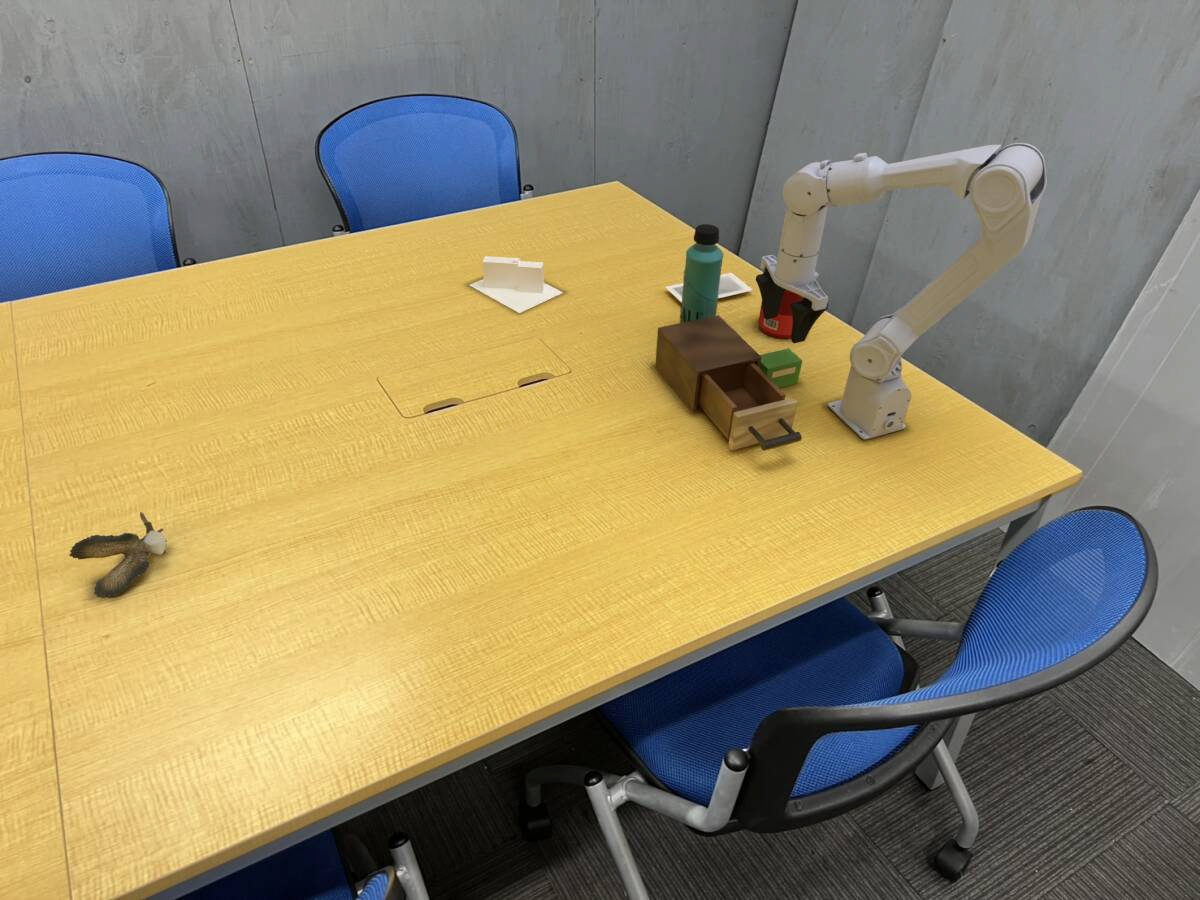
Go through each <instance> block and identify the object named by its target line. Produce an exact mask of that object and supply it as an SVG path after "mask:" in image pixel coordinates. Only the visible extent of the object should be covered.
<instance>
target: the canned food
mask: <svg viewBox="0 0 1200 900" xmlns="http://www.w3.org/2000/svg"><path fill="white" fill-rule="evenodd" d="M802 299H803V297H801V296H800V295H798V294H796V293H794V292H791V291H789V290H787V289H786V290H785V292H784V295H783V298H782V302H781V306H780V310H779V313H778V316H777V317H776V318H771V319H767V320H766V319H765V318H764V313H763V304H762V302H761V304H760V310H759V316H758V326H759V329H760V330H761V332H763V333H764V334H765V335H767V336H770V337H772V338H777V339H791V332H792V324H793V319H792V311H791V308H790V303H794V302H798V301H802Z"/></svg>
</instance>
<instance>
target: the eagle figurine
mask: <svg viewBox="0 0 1200 900" xmlns="http://www.w3.org/2000/svg"><path fill="white" fill-rule="evenodd" d="M139 516H140V520H141V522H142V523H143V526H145V535H144V536H143V537H142V538H140V536H139V535H137V534H136V533H131V532H123V533H121V534H119V535H113V534H110V535H104V534H103V535H99V534H94V535H90V536H87V537H86V538H83V539H81V540H79V541H78V542H75V543H74V545H73V546H71V549H70V550H69V552H70V553H69V555H68V556H69V557H72V559H78V560H87V559H104V558H109V557H113V556H117V555H121V559H122V560H121V561H119V563H118V564H117V565H115V566H114V567H113V568H112V569H111V570H110V571H108V572H107V574H106V575H104V576H102V577H100V578H99V579H98V580H96V582H95V586H94V591H93V593H94V595H95V596H96V597H101V598H105V597H108V598H111V597H116V596H118V595H120V594H122V593H123V592H124V591H126V590H127V589H128V587H129V586H130V585H132V584H133V581H135V580H136V579H138V578H139V576H143V574H145V573H146V572H147V571H148V568H149V567H150V561H149V560H150V559H149V557H150V554H153V555H154V554H155V555H158V556H161V555H163V554H164V553H165V554H166V547H167V542H168V540H167V539H166V537H165V535H164V534H163V533H162V532H163V531H164V528H162V527H161V528H160V529H158V530H155V528H154V526H153V524H152V522H151V521H149V520H148V519H147V518H146V516H145V513H143V511H140V512H139Z"/></svg>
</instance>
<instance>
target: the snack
mask: <svg viewBox="0 0 1200 900" xmlns="http://www.w3.org/2000/svg"><path fill="white" fill-rule="evenodd" d="M759 355H760V356H761V357H762V359H761V364H760V369H761V370H762V371H763V372H764V373H765V374H766V375H767V376H768V377H769V378H770V379H771V380H772V381H773V382H774V383H775V384H776V385H777V386H778V387H779V388H780V389H781V388H785V387H789V386H793V385H797V384H798V383H799V378H800V373H801V369H802V364H803V359H801V358H800V357H799V356H798V355H797V354H796V353H795V352H793V350H792V349H791V348H784V349H780V350H775V351H770V352H766V353H762V354H759Z"/></svg>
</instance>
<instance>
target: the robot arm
mask: <svg viewBox="0 0 1200 900" xmlns="http://www.w3.org/2000/svg"><path fill="white" fill-rule="evenodd" d="M1000 147H1002V144H987V145H982V146H977V147H971V148H966V149H961V150H955V151H949V152H944V153H940V154H934V155H929V156H924V157H918V158H914V159H908V160H903V161H897V162H893V163H892V162H891V163H887V162H886V161H885V160H883V159H882V158H880V157H879V156H876V155H874V156H868V153H867V152H861V153H857V154H856V155H854V156H853V159H849V160H841V161H835V162H831V160H830V159H826V160H825V159H824V160H822V161H821V162H820V161H815V162H811V163H809V164H806V165H805V166H804V167H802V168H800V170H797V172H795V173H794V174H792V175H791V176H790V177H788V179H787V180H786V181H785V183H784V185H783V187H782V199H783V202H784V204H785V206H786V208H785V213H784V216H783V217H784V218H783V224H782V228H781V229H782V230H781V236H780V241H779V247H778V253H777V257H776V256H775V255H774V254H770V255H764V256H761V259H760V267H759V268H760V269H761V270H762V271H763V272H762V273H760V274H757V275H756V277H755V281H756V284H757V286H758V289H759V292H760V297H761V303H762V304H763V313H764V318H765V319H766V320H767V319H771V318H776V317H777V316H778V313H779V310H780V306H781V302H782V298H783V295H784V292H785V290H786V289H787V290H789V291H791V292H794V293H796V294H798V295H800V296H801V297H803V299H802V301H798V302H794V303H790V308H791V311H792V319H793V324H792V332H791V338H790V341H791V343H793V344H799V343H802V342H805V341H806V339H807V337H808V335H809V333H810V331H811V329H812V328H813V326H814V325H815V323H816V321H818V319H819V318H820V317H821V316H822V314H824V313H825V312H826V311H827V310H828V308H829V303H828V302H829V296H828V295H827V294H826V293H825V292H824V290H823V289H822V287H821V286H820V284H819V282H818V280H817V279H818V278H819V275H820V274H819V273H818V272H817V271H816V268H817V263H818V259H819V254H820V248H821V244H822V238H823V235H824V234H823V233H824V228H825V224H826V217H827V212H828V208H829V207H833V208H834V207H841V206H850V205H857V204H867V203H875V202H879V201H880V200H881V199H882V198H883V197H884V196H885V194H886V193H887V191H898V190H912V189H922V188H924V189H925V188H936V187H947V188H949V190H950V191H952V192H953V193H954V194H955V196H957V197H958V198H959V199H960V200H965V199H966V198H967V196H969V199H970V202H971V203H972V208H973V209H974V211H975V213H976V215H977V218H978V219H979V222H980V228H981V237H980V238H978V239H977V240H976V241H975V242H974V243H973V244H971V246H969V248H967V249H966V250H965V251H964V252H962V254H960V256H958V257H957V258H956V259H955V260H953V261H952V263H950V264H949V265H948V266H946V268H945V269H943V271H941V272H940V273H939V274H937V276H936V277H935V278H933V280H931V281H930V282H929V283H928V284H926V286H924V287H923V288H922V289H921V290H920V291H919V292H918V293H917V294H915V296H914V297H913V298H911V299H910V300H909V301H908V302H907V303H906V304H905V305H903V306H901V307H900V308H898V309H897V310H896V311H894V312H893V313H891V314H887V315H883V316H880V317H879V318H878V319H876V320H875V321H874V323H873V325H872V326H871V328H870V329H869V330H868V331H867V332H866V333H865V334H864V335H863V336H862V337H861V338H860V340H859V341H857V342H856V343H855V344H854V345H852V347H851V349H850V352H849V362H850V367H849V370H848V375H847V378H846V382H845V386H844V391H843V393H842V394H843V395H842V399H839V400H835V401H831V402H828V403H827V404H828V405H827V407H828V408H829V409H830V410H831V411H832V412H833V413H834V414H835V415H836V416H838V417H839V419H841V421H843V422H844V424H846V425H847V426H848V427H849V428H850V429H851V430H852V431H853V432H854V433H856V434H857V436H858V437H860V438H861V439H862V440H864V441H865V440H869V439H874V438H877V437H880V436H884V435H887V434H890V433H894V432H898V431H902V430H905V429H906V427H907V425H906V424H905V423H904V422H905V418H906V415H907V412H908V409H909V406H910V403H911V400H912V392H911V390H910V389H909V387H908V386H907V385H906V383H905V382H904V379H903V377H902V372H903V363H902V356H903V355H904V353H906V352H907V351H908V350H909V349H910V348H911V346H912V345H913V344H914V343H915V342H916V340H918V339H919V338H920V336H922V335H923V334H925V332H927V331H928V330H929V329H931V328H932V327H933V326H934V325H935V324H936V323H938V322H939V321H940V320H941V319H942V318H944V317H945V316H946V315H947V314H949V312H951V311H952V310H953V309H954V308H955V307H957V306H958V305H959V304H960V303H961V302H964V300H965V299H967V297H968V296H970V295H971V294H972V293H973V292H975V291H976V290H977V289H979V288H980V287H981V286H982V285H983V284H984V283H986V282H987V281H988V280H989V279H990V278H992V277H993V276H994V275H996V274H997V273H998V272H999V271H1000V270H1001V269H1002V268H1004V267H1005V266H1006V265H1007V264H1008V263H1010V262H1011V261H1012V260H1013V259H1014V258H1015V257H1017V256H1018V255H1019V254H1020V253H1021V252H1022V251H1023V249H1024V248H1025V247H1026V245H1027V244H1028V242H1029V241H1030V238H1031V235H1032V231H1033V228H1034V225H1035V221H1036V218H1037V215H1038V212H1039V208H1040V205H1041V201H1042V198H1043V196H1044V192H1045V191H1046V188H1047V185H1048V180H1047V179H1048V178H1047V167H1046V166H1047V165H1046V160H1045V157H1044V155H1043V153H1042V152H1041V151H1040V150H1039V148H1038V147H1036V146H1034V145H1032V144H1030V143H1026V142H1014V143H1011V144H1008V145H1005V146H1004V147H1002V148H1001V149H1000Z"/></svg>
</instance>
